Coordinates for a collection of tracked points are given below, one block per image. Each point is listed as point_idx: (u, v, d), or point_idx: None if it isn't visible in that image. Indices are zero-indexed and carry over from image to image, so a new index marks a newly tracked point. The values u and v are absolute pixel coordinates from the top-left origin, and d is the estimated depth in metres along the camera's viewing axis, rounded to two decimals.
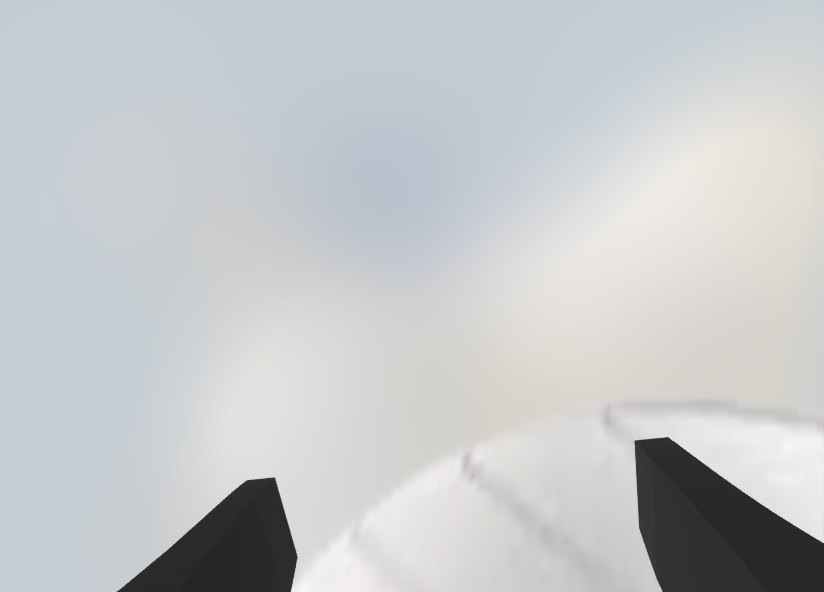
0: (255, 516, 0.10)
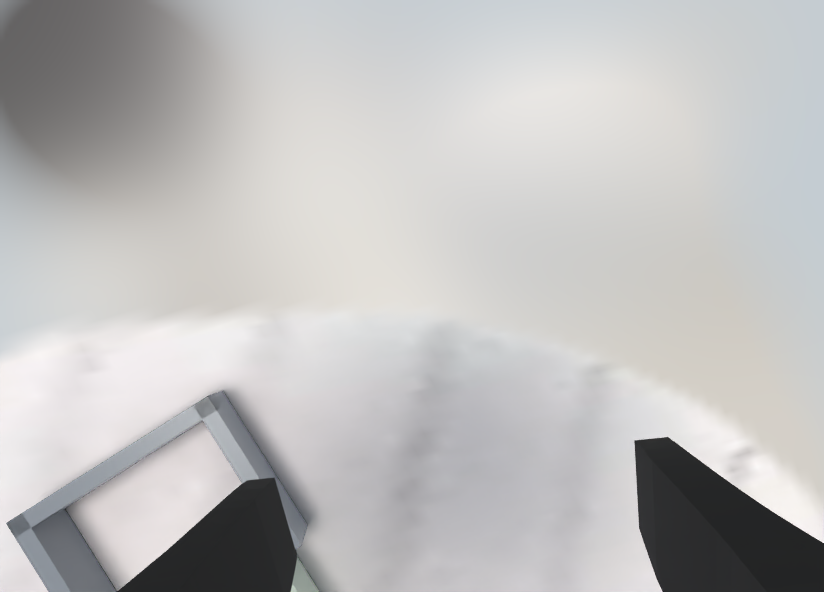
0: (254, 516, 0.10)
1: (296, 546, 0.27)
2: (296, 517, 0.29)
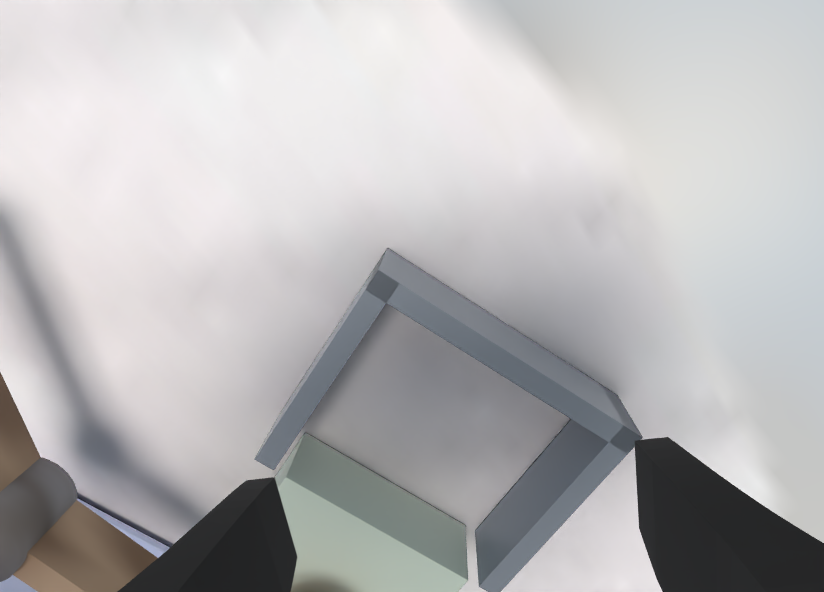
0: (254, 516, 0.10)
1: None
2: None
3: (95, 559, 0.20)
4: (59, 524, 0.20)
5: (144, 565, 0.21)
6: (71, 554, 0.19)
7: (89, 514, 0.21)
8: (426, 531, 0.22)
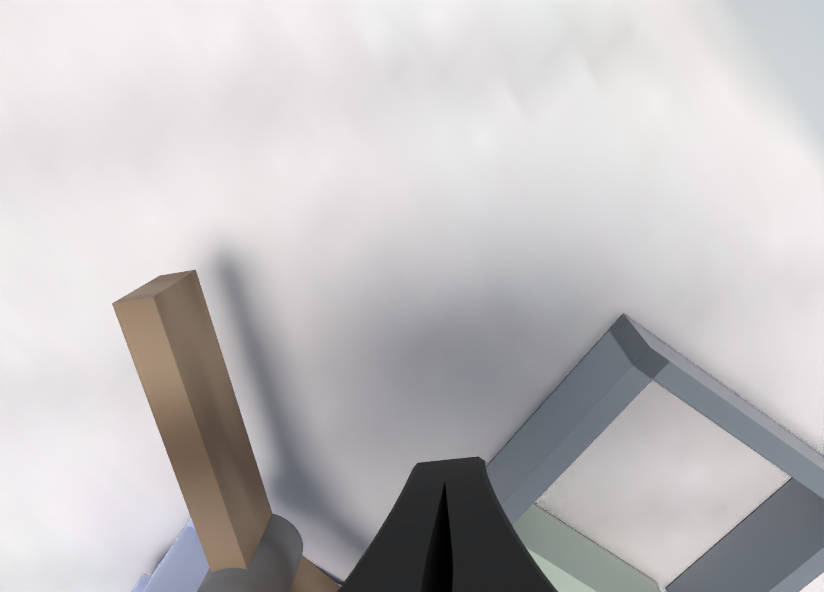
0: (445, 498, 0.10)
1: None
2: None
3: None
4: (296, 583, 0.20)
5: None
6: None
7: (314, 570, 0.21)
8: None
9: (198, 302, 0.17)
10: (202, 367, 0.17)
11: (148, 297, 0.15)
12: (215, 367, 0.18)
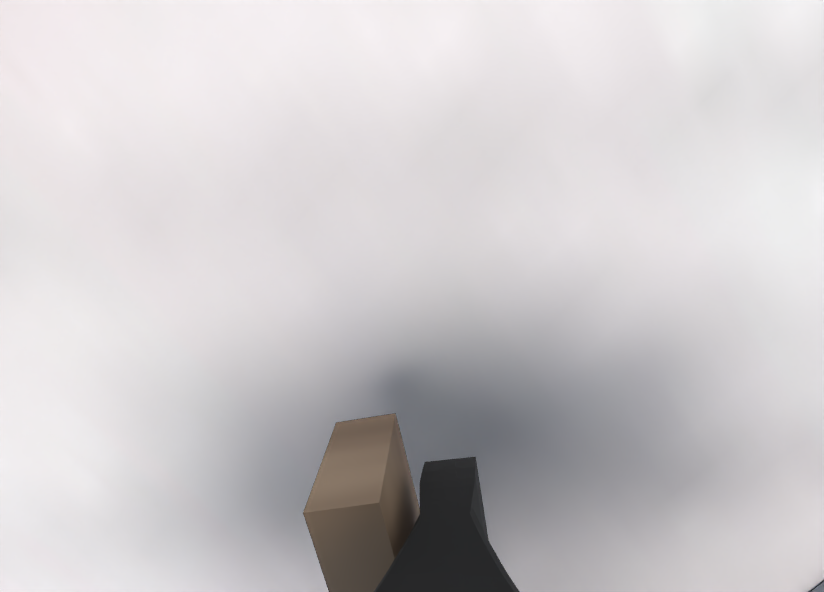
0: (476, 495, 0.10)
1: None
2: None
3: None
4: None
5: None
6: None
7: None
8: None
9: (404, 467, 0.11)
10: None
11: (368, 502, 0.09)
12: None
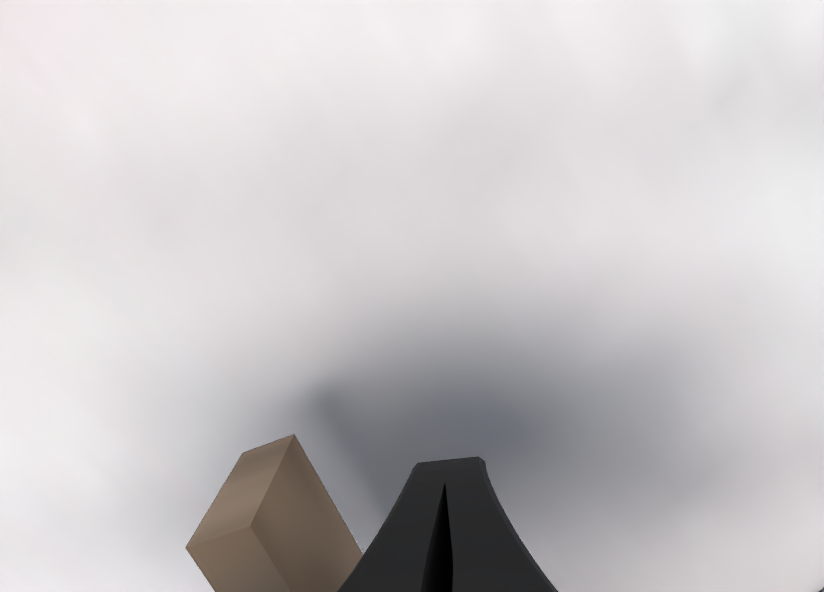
0: (446, 498, 0.10)
1: None
2: None
3: None
4: None
5: None
6: None
7: None
8: None
9: (310, 485, 0.11)
10: None
11: (241, 527, 0.09)
12: None
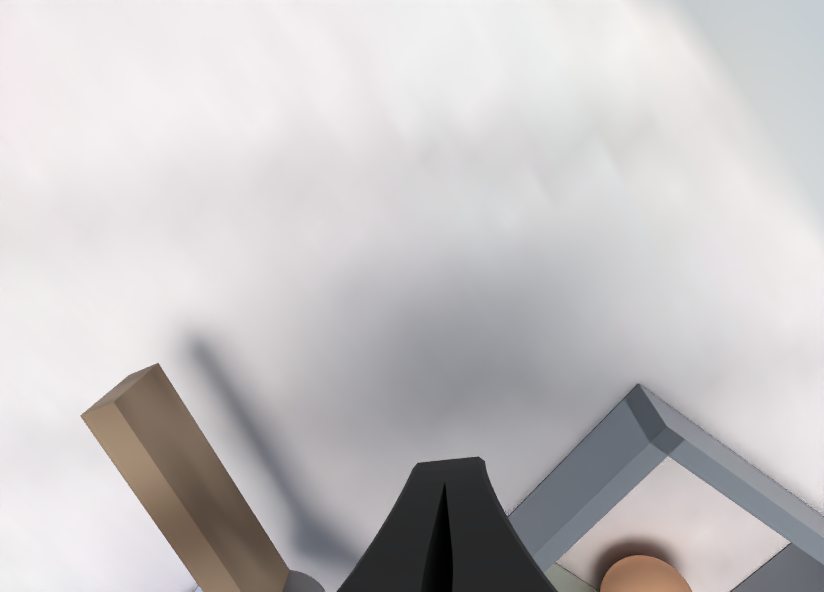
0: (445, 498, 0.10)
1: None
2: None
3: None
4: None
5: None
6: None
7: None
8: None
9: (166, 392, 0.19)
10: (181, 452, 0.18)
11: (109, 403, 0.16)
12: (196, 448, 0.19)
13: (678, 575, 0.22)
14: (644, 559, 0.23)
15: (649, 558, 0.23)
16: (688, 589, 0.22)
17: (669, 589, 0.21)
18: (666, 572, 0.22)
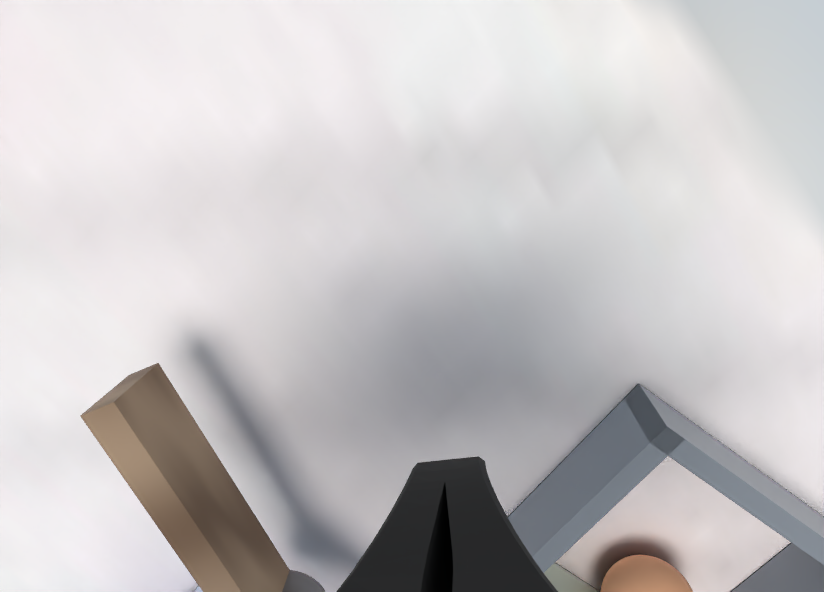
0: (445, 498, 0.10)
1: None
2: None
3: None
4: None
5: None
6: None
7: None
8: None
9: (166, 392, 0.19)
10: (181, 452, 0.18)
11: (109, 403, 0.16)
12: (196, 448, 0.19)
13: (678, 574, 0.22)
14: (644, 558, 0.23)
15: (649, 557, 0.23)
16: (688, 588, 0.22)
17: (669, 588, 0.21)
18: (667, 571, 0.22)
